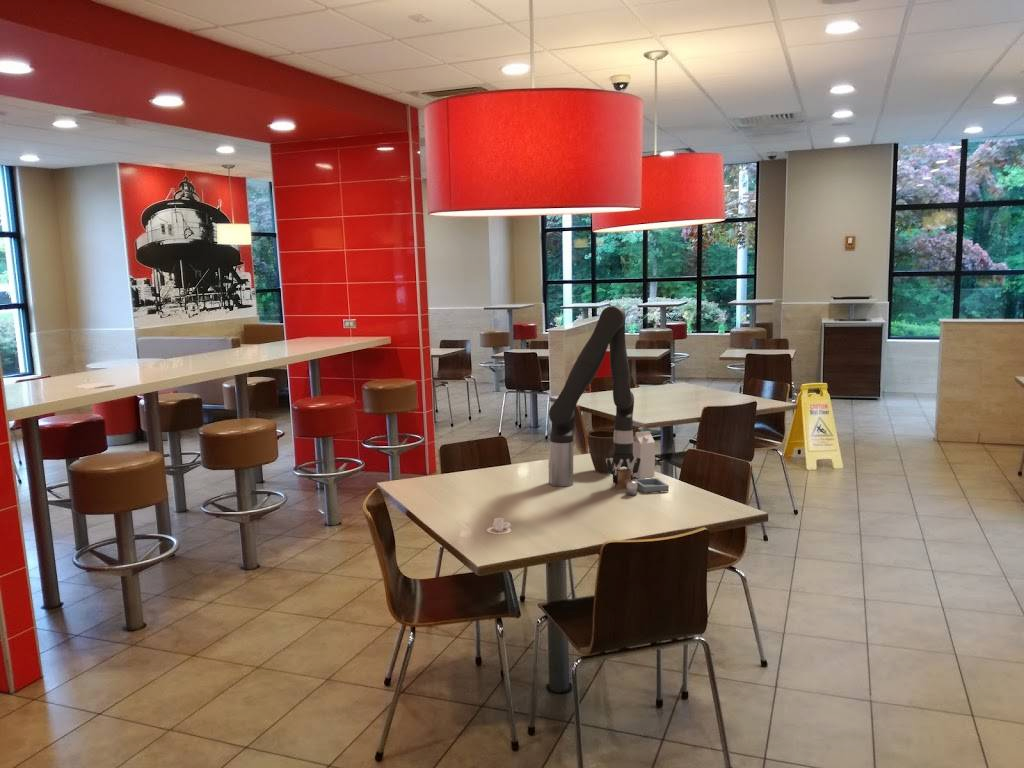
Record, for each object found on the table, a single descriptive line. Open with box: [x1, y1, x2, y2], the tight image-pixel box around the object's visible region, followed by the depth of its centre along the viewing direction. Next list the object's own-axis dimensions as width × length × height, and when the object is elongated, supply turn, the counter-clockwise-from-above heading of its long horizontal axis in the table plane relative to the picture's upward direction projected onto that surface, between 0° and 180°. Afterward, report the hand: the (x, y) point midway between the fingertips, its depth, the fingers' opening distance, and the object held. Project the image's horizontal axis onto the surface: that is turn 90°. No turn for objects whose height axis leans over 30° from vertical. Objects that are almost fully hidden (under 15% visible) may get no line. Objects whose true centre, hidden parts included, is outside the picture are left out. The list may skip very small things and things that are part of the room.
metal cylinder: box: [625, 480, 638, 497], centre depth 310 cm, size 4×4×5 cm
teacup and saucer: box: [486, 517, 512, 535], centre depth 267 cm, size 9×8×4 cm
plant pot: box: [586, 430, 615, 474], centre depth 348 cm, size 15×15×16 cm
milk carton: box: [631, 430, 656, 479], centre depth 336 cm, size 7×7×19 cm
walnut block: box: [613, 467, 631, 490], centre depth 321 cm, size 5×5×7 cm
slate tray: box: [633, 477, 670, 494], centre depth 319 cm, size 10×12×2 cm
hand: (622, 483), depth 321 cm, fingers closed on walnut block, 5 cm apart
